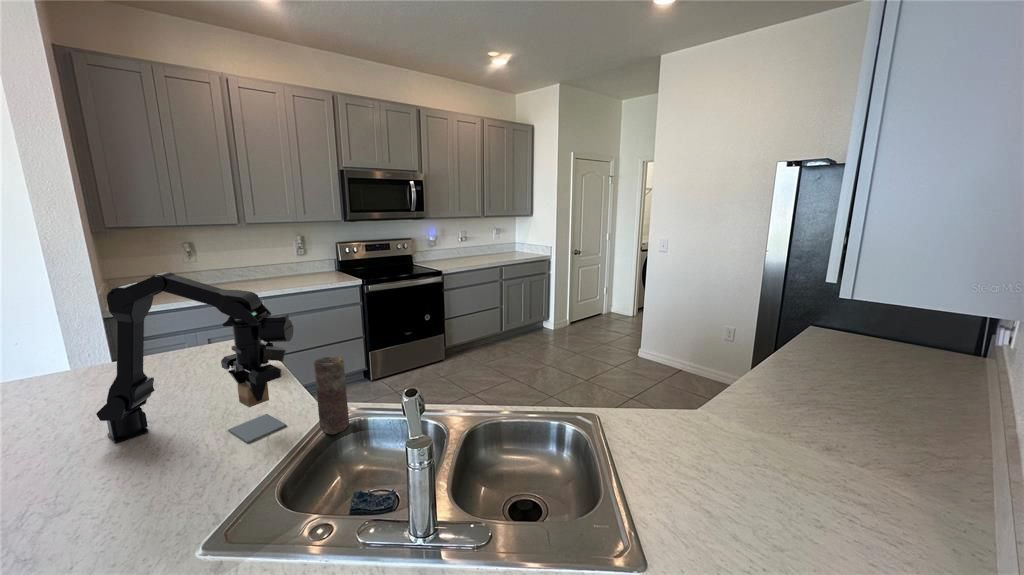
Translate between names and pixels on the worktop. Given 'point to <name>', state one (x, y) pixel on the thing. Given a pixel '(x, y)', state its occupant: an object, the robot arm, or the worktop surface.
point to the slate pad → (257, 428)
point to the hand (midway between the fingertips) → (253, 397)
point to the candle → (331, 394)
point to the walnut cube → (250, 395)
